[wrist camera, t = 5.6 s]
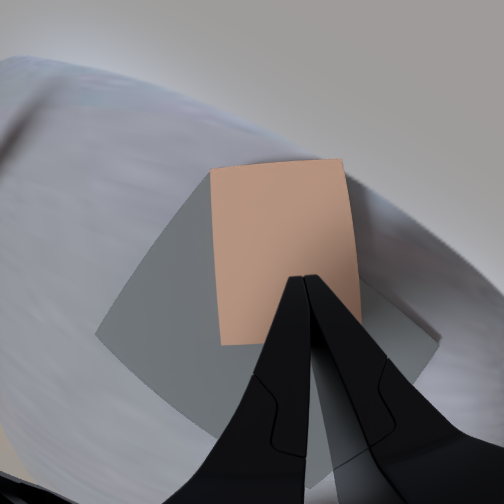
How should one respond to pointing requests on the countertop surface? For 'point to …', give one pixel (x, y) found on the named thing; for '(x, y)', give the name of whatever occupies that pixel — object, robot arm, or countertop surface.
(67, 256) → the countertop surface
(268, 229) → the tile
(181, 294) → the mat
